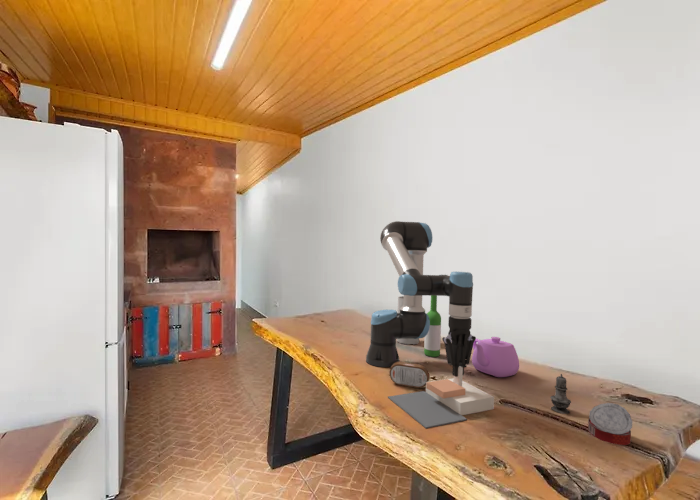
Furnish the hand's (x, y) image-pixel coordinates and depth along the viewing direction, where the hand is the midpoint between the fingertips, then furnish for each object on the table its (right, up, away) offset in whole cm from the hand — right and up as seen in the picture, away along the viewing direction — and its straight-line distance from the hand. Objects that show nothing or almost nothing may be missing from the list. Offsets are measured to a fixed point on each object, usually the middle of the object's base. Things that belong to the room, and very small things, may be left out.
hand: (457, 385), depth 119 cm
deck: (0, -5, 0) cm, 5 cm away
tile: (-5, -1, -2) cm, 5 cm away
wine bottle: (+4, -6, +53) cm, 53 cm away
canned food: (+37, -7, -20) cm, 43 cm away
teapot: (+25, -7, +31) cm, 40 cm away
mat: (-13, -5, -7) cm, 15 cm away
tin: (-15, -5, +12) cm, 20 cm away
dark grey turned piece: (+33, -7, -4) cm, 34 cm away
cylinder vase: (-4, -6, +77) cm, 77 cm away
